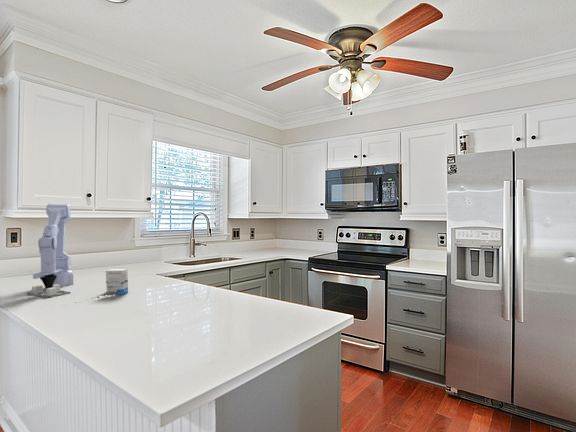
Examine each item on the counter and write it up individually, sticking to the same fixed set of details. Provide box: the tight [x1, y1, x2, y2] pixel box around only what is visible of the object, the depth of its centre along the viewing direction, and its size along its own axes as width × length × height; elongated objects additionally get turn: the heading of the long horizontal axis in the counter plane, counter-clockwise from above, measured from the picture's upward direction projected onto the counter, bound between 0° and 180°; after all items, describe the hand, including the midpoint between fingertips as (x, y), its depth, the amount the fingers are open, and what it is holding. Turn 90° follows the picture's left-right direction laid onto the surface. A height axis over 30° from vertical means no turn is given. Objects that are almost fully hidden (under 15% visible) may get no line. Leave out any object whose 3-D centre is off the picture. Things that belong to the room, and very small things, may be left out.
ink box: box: [105, 268, 129, 296], centre depth 168 cm, size 9×5×12 cm, turn 84°
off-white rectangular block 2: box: [45, 287, 57, 296], centre depth 159 cm, size 3×3×4 cm
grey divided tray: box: [27, 288, 71, 299], centre depth 163 cm, size 10×17×2 cm, turn 62°
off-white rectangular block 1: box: [31, 284, 44, 293], centre depth 164 cm, size 3×3×4 cm
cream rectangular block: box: [52, 284, 61, 292], centre depth 166 cm, size 3×3×4 cm
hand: (48, 291), depth 163 cm, fingers closed
